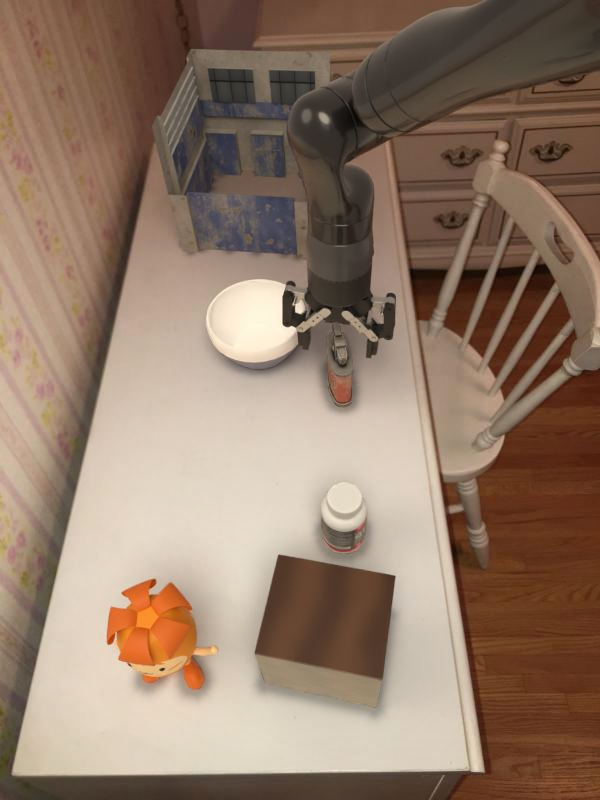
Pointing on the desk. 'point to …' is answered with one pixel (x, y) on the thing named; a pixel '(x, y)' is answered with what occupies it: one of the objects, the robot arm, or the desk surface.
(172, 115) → the building
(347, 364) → the lighter
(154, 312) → the desk surface
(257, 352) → the bowl
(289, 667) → the block
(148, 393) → the desk surface
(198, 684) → the toy figure
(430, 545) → the desk surface
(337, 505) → the pill bottle
